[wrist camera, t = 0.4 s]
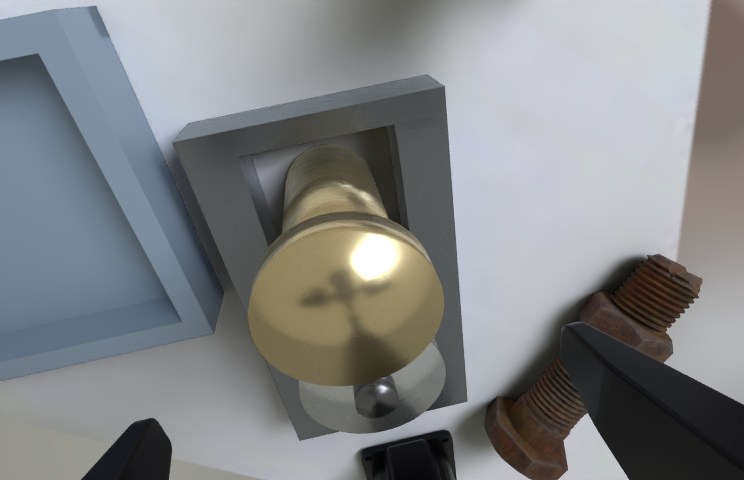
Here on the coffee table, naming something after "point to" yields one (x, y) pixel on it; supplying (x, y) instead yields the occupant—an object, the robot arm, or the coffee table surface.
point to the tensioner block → (418, 215)
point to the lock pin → (341, 279)
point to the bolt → (555, 388)
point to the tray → (87, 207)
